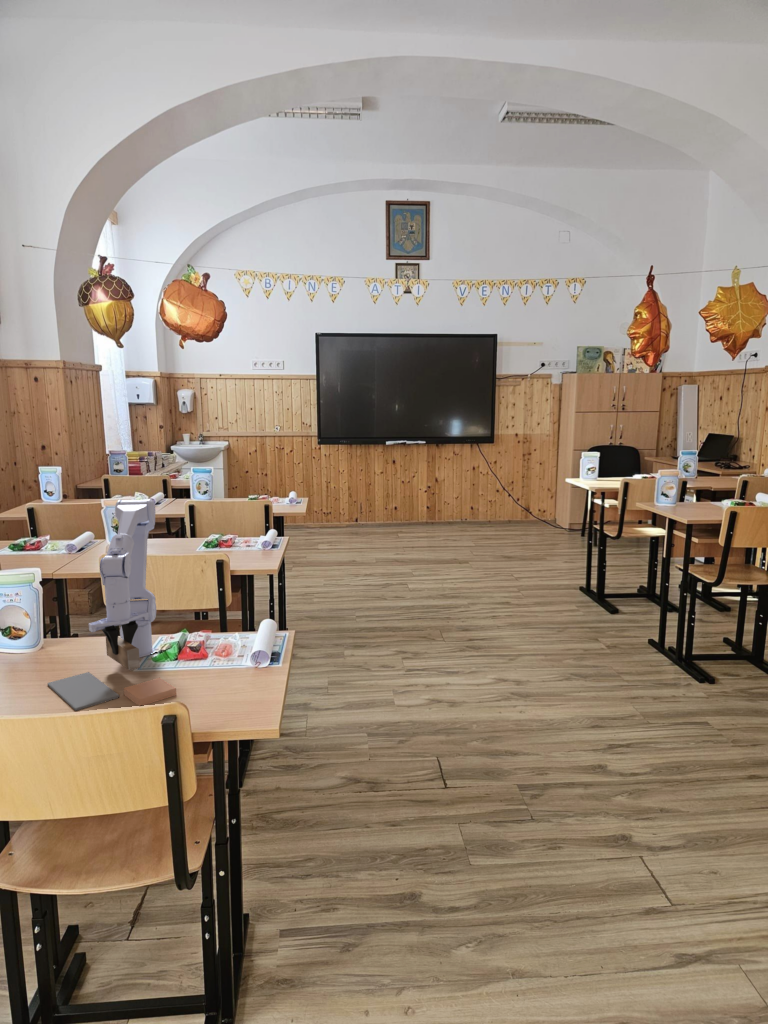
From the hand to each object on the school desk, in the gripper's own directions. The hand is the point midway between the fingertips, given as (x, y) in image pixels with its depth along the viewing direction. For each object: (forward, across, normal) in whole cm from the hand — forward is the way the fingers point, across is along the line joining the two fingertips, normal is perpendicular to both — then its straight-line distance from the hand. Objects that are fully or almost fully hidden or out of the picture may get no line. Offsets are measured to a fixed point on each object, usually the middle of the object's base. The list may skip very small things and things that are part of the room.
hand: (121, 652), depth 167 cm
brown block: (+2, 0, 0) cm, 2 cm away
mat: (+6, -11, -3) cm, 13 cm away
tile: (+6, 0, -12) cm, 13 cm away
